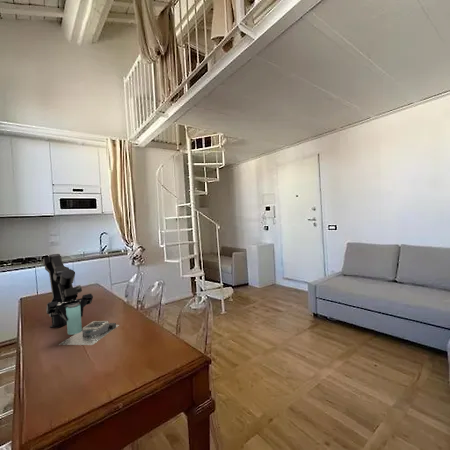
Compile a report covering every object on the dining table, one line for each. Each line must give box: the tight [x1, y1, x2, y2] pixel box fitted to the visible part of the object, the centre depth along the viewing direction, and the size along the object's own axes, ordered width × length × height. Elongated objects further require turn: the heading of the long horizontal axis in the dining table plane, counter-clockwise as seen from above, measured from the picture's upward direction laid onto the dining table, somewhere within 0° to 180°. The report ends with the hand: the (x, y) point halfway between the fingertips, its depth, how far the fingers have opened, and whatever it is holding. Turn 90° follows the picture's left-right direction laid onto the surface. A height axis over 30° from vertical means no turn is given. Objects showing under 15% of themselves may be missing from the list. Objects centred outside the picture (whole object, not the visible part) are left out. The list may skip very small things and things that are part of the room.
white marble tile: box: [58, 320, 120, 346], centre depth 127 cm, size 17×22×5 cm
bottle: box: [66, 303, 83, 336], centre depth 121 cm, size 6×6×13 cm
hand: (74, 318), depth 120 cm, fingers closed on bottle, 6 cm apart
